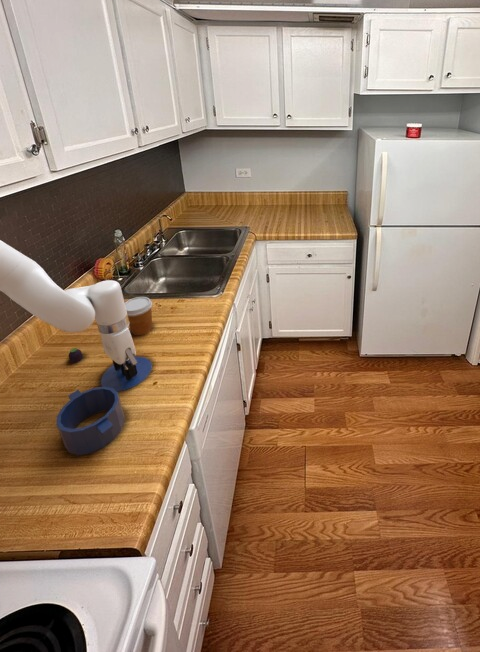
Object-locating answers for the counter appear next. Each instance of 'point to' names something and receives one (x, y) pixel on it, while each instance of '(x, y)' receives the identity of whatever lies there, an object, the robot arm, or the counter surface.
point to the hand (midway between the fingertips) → (126, 371)
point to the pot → (82, 408)
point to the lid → (118, 377)
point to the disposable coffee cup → (139, 315)
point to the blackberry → (75, 355)
